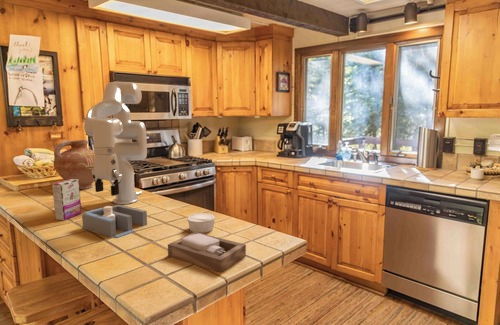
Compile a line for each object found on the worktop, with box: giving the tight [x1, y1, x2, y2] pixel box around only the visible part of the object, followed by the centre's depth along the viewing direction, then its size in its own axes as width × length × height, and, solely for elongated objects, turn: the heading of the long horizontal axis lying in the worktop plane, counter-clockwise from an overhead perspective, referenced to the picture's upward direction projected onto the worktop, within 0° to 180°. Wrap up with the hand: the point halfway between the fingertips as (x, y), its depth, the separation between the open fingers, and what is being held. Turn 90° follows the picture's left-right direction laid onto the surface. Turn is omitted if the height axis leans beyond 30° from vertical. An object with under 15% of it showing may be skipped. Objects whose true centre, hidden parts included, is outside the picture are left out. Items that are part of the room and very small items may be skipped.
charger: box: [181, 233, 226, 256], centre depth 112 cm, size 5×9×15 cm
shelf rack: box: [81, 204, 148, 239], centre depth 139 cm, size 18×20×7 cm
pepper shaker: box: [102, 205, 117, 229], centre depth 135 cm, size 4×4×10 cm
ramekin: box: [187, 212, 216, 234], centre depth 137 cm, size 11×11×5 cm
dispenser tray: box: [167, 232, 247, 273], centre depth 112 cm, size 14×22×4 cm, turn 59°
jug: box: [53, 139, 95, 190], centre depth 206 cm, size 28×28×30 cm
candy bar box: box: [51, 179, 83, 221], centre depth 151 cm, size 11×5×16 cm, turn 168°
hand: (107, 193), depth 134 cm, fingers open, 9 cm apart
